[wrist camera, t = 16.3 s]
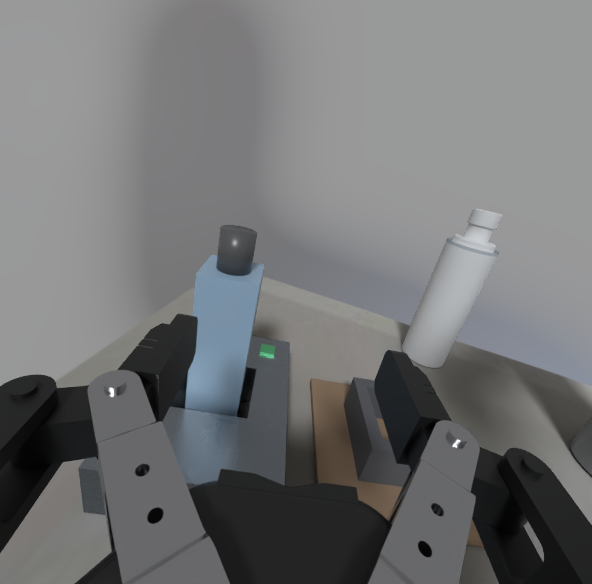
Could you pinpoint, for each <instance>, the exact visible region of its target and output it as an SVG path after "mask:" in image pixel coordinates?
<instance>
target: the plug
mask: <svg viewBox="0 0 592 584" xmlns="http://www.w3.org/2000/svg"><path fill="white" fill-rule="evenodd" d="M256 237H257V233H256V232H255V231H254V230H252V229H249V228H245V227H241V226H235V225H224V226H221V228H220V237H219V246H218V255H217V256H216V255H211V256H210V257H209V259H208V260H207V261H206V262H205V263H204V265H203V266H202V267H201V269H200V270H199V271H198V272H197V273H196V283H195V294H194V306H193V316H195V317H197V318H198V326H197V341H196V352H195V356H194V359H193V362H192V364H191V366H190V368H189V370H188V378H187V390H186V402H185V409H189V410H196V411H202V412H209V413H215V414H221V415H228V416H234V417H237V416H238V411H239V406H240V400H241V395H242V389H243V384H244V378H245V372H246V367H247V361H248V356H249V350H250V345H251V339H252V333H253V328H254V322H255V317H256V311H257V306H258V300H259V294H260V289H261V283H262V278H263V272H264V265H262V264H257V263H252V262H253V256H254V250H255V243H256Z"/></svg>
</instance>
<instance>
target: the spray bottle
mask: <svg viewBox="0 0 592 584" xmlns="http://www.w3.org/2000/svg"><path fill="white" fill-rule="evenodd" d="M502 216H503V215H501V214H498V213H494V212H490V211H485V210H481V209H477V208H473V210H472V213H471V215H470V217H469V220H468V223H469V224H468V227H467V229H466V231H465V234H464V235H460V234H455V235H454V236H453V238H452V237H448V238H447V240H446V243H445V245H444V247H443V250H442V252H441V254H440V257H439V259H438V262H437V264H436V266H435V269H434V271H433V273H432V276H431V278H430V280H429V283H428V285H427V287H426V290H425V292H424V295H423V297H422V299H421V302H420V304H419V306H418V309H417V311H416V314H415V316H414V318H413V321H412V323H411V325H410V328H409V330H408V333H407V335H406V337H405V340H404V342H403V344H402V350H403V352H404V353H406V354H407V355H408V356H409V358H410V359H411V360H413V361H414V362H416V363H418V364H420V365H423V366H425V367H430V368H439V367H441V366H442V365H443V364H444V362H445V360H446V358H447V356H448V354H449V352H450V350H451V348H452V346H453V344H454V342H455V340H456V338H457V336H458V334H459V332H460V330H461V328H462V326H463V324H464V322H465V320H466V318H467V316H468V314H469V312H470V310H471V308H472V306H473V304H474V302H475V300H476V298H477V296H478V294H479V292H480V290H481V288H482V286H483V284H484V282H485V280H486V278H487V276H488V274H489V272H490V270H491V268H492V266H493V264H494V262H495V260H496V258H497V256H498V254H499V252H498V251H496V250H495V248H496V246H495V245H494V244H492V243H489V242H488V240H489V238H490V236H491V234H492V232H493V230H495V229H496V228H497V226H498V224H499V222H500V220H501V218H502Z"/></svg>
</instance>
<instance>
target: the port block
mask: <svg viewBox="0 0 592 584" xmlns="http://www.w3.org/2000/svg"><path fill="white" fill-rule="evenodd" d="M289 345H290V343H289V342H283V341H278V340H272V339H267V338H261V337H256V336H252V339H251V345H250V350H249V356H248V361H247V367H246V372H245V378H244V384H243V389H242V395H241V400H240V401H247V402H250V405H249V411H248V416H247V418H241V417H234V416H228V415H221V414H215V413H209V412H202V411H196V410H189V409H183V407H184V405H185V402H186V390H187V378H188V372H187V374H186V376H185V378H184V380H183V382H182V384H181V386H180V388H179V390H178V392H177V394H176V396H175V398H174V400H173V402H172V404H171V406H170V408H169V410H168V412H167V414H166V416H165V418H164V420H163V422H162V423H163V425H164V428H165V430H166V433H167V435H168V438H169V441H170V443H171V446H172V448H173V451H174V453H175V456H176V459H177V461H178V464H179V466H180V469H181V472H182V474H183V477H184V479H185V482H186V484H187V487H188V490H189V489H191V488H193V487H195V486H198V485H200V484H203V483H207V482H210V481H217V480H218V478H219V474H220V470H221V469H227V470H234V471H242V472H249V473H255V474H258V475H260V476H263V477H265V478H267V479H270V480H272V481H275V482H277V483H279V484H282V485H284V486H285V461H286V432H287V403H288V374H289ZM79 476H80V485H81V493H82V502H83V510H84V512H88V513H96V514H104V515H106V514H105V508H104V502H103V496H102V490H101V484H100V478H99V472H98V466H97V460H96V457H92V458H86V459H85V460H84V461H83V462H82V464H81V465H80V467H79Z"/></svg>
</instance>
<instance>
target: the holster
mask: <svg viewBox="0 0 592 584" xmlns="http://www.w3.org/2000/svg"><path fill="white" fill-rule="evenodd" d="M374 383H375V381H372V380H367V379H361V378H355V377H354V378H353V380H352V383H351V385H347V384H341V383H335V382H329V381H324V380H318V379H312V378H311V381H310V389H311V405H312V421H313V437H314V453H315V469H316V484H319V483H329V484H336V485H344V486H351V487H356V488H357V494H358V500H360V501H362V502H364V503H366V504H368V505H369V506H371V507H372V508H374V509H375V510H377V511H378V512H379V513H380V514H381V515H383V516H384V517H385V518H386V519H388V517H389V515H390V513H391V511H392V509H393V506H394V504H395V502H396V500H397V498H398V496H399V494H400V491H401V489H402V487H403V485H404V483H405V481H406V478H407V476H408V474H409V473H410V471H411V470H410V467H409V465H404V464H397V463H396V460H395V457H394V453H393V450H392V447H391V444H390V440H389V437H388V434H387V431H386V427H385V424H384V421H383V418H382V414H381V411H380V408H379V405H378V401H377V398H376V395H375V391H374ZM467 545H472V546H480V547H484V546H483V543H482V541H481V539H480V536H479V534H478V532H477V529H476V527H475V524H474V522H473V520H472V521H471V526H470V531H469V536H468V540H467Z"/></svg>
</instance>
